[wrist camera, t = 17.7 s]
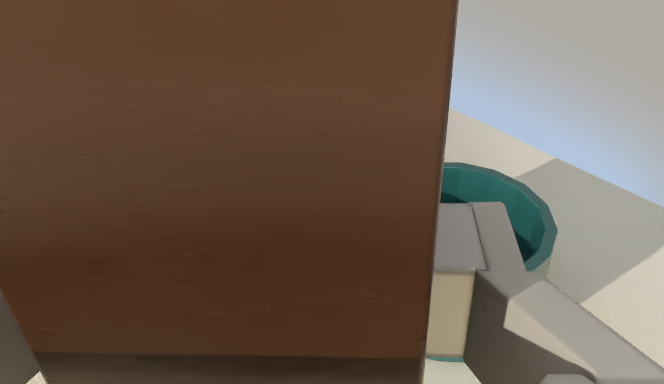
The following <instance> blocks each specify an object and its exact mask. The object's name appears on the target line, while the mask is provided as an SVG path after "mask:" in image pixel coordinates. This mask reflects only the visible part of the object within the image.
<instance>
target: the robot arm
mask: <svg viewBox="0 0 664 384" xmlns="http://www.w3.org/2000/svg"><path fill="white" fill-rule="evenodd" d="M426 357H442V358H464V362H465V363H466V365H467V366H468V367H469V368H470V370H471V371H472V372H473V373H474V375H475V376H476V377H477V378H478V380H479V381H480V382H481V383H482V384H664V368H662V367H661V366H660V365H658V364H657V363H656V362H654V361H653V360H652V359H650V358H649V357H648V356H647V355H645V354H644V353H643V352H641V351H640V350H639V349H637V348H636V347H635V346H633V345H632V344H631V343H629V342H628V341H627V340H626V339H624V338H623V337H622V336H620V335H619V334H618V333H616V332H615V331H614V330H612V329H611V328H610V327H608V326H607V325H606V324H605V323H603V322H602V321H601V320H599V319H598V318H597V317H595V316H594V315H593V314H591V313H590V312H589V311H587V310H586V309H585V308H583V307H582V306H581V305H580V304H578V303H577V302H576V301H574V300H573V299H572V298H570V297H569V296H568V295H566V294H565V293H564V292H562V291H561V290H560V289H559V288H557V287H556V286H555V285H553V284H552V283H551V282H549V281H548V280H547V279H545V278H544V277H543V276H541V275H540V274H539V273H538V272H536V271H526V269H525V266H524V262H523V259H522V256H521V253H520V250H519V247H518V244H517V241H516V238H515V235H514V232H513V229H512V225H511V222H510V219H509V216H508V213H507V210H506V207H505V205H504V204H503V203H502V202H501V201H500V202H470V203H440V207H439V218H438V228H437V239H436V250H435V261H434V271H433V282H432V293H431V303H430V314H429V325H428V335H427V346H426ZM39 371H40V370H39V368H38V366H37V364H36V362H35V360H34V358H33V356H32V354H31V352H30V350H29V348H28V346H27V344H26V342H25V340H24V338H23V336H22V334H21V332H20V330H19V328H18V326H17V324H16V322H15V320H14V318H13V316H12V314H11V312H10V310H9V308H8V306H7V304H6V302H5V300H4V298H3V296H2V294H1V292H0V384H26V383H27V382H28V381H29V380H30V379H31V378H32V377H34V376H35V375H36V374H37V373H38V372H39Z"/></svg>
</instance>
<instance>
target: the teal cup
mask: <svg viewBox="0 0 664 384" xmlns="http://www.w3.org/2000/svg"><path fill="white" fill-rule="evenodd" d="M500 201H501V202H502V203H503V204H504V205H505V207H506V210H507V213H508V216H509V219H510V222H511V225H512V229H513V232H514V235H515V238H516V241H517V244H518V247H519V250H520V253H521V256H522V259H523V262H524V266H525V269H526V271H536V272H538V273H539V274H540V275H541V276H543V277H544V278H545V279H546V275H547V271H548V267H549V263H550V259H551V255H552V251H553V247H554V243H555V239H556V235H557V227H556V225H555V222H554V220H553V217H552V215H551V212H550V210H549V207H548V206H547V204H546V203H545V202H544V201H542V200H541V199H540V198H539V197H538V196H537V195H536V194H535V193H534V192H533V191H532V190H531V189H529V188H528V187H527V186H526V185H525V184H523V183H521V182H519V181H517V180H514V179H512V178H510V177H508V176H506V175H504V174H502V173H500V172H498V171H494V170H492V169H488V168H483V167H479V166H474V165H469V164H465V163H454V162H444V164H443V175H442V186H441V196H440V203H470V202H500ZM425 358H427V359H433V360H438V361H448V362H464V358H442V357H425Z"/></svg>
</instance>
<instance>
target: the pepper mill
mask: <svg viewBox="0 0 664 384" xmlns="http://www.w3.org/2000/svg"><path fill="white" fill-rule="evenodd" d="M458 4H459V0H0V292H1V294H2V296H3V298H4V300H5V302H6V304H7V306H8V308H9V310H10V312H11V314H12V316H13V318H14V320H15V322H16V324H17V326H18V328H19V330H20V332H21V334H22V336H23V338H24V340H25V342H26V344H27V346H28V348H29V350H30V352H31V354H32V356H33V358H34V360H35V362H36V364H37V366H38V368H39V370H40V372H41V374H42V376H43V378H44V380H45V382H46V384H423V378H424V368H425V357H426V346H427V335H428V325H429V314H430V303H431V293H432V282H433V271H434V261H435V250H436V239H437V228H438V218H439V207H440V196H441V186H442V175H443V164H444V154H445V143H446V132H447V121H448V111H449V100H450V89H451V78H452V67H453V57H454V47H455V46H454V45H455V36H456V25H457V14H458Z"/></svg>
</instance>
